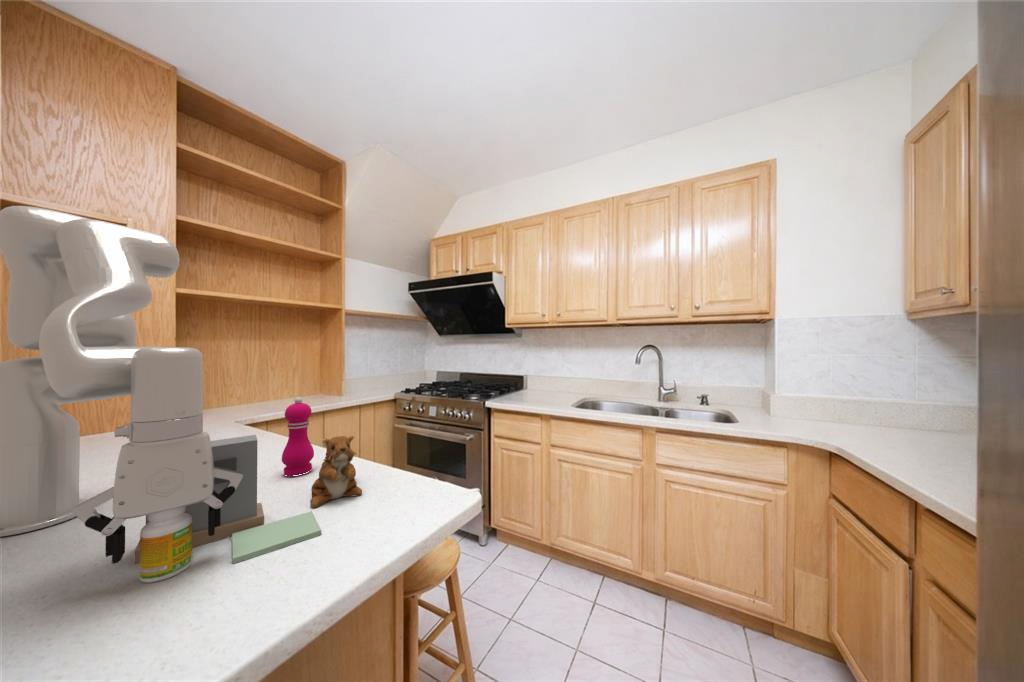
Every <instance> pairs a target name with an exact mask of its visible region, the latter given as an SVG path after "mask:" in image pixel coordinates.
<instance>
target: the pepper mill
mask: <svg viewBox="0 0 1024 682" xmlns="http://www.w3.org/2000/svg"><path fill="white" fill-rule="evenodd" d="M311 416H312V407H311V406H310V405H309V404H308V403H306V402H305V403H304V402H303V399H302V397H300V396H297V397H295V398H294V403H292V404H290V405H288V406H287V407H286V409H285V410H284V417H285V420H287V423H286V425H287V426H286V428H287V429H288V439H287V442H286V445H285V447H284V449H283V451H282V454H281V463H283V465H284V466H285V467H284V468H283V476H284V475H287V476H293V475H299V474H303V473H306V472H308V471H310V470H311V469H312V470H313V464H312V460H313V458H314V457H315V452H314V451H315V450H314V448H313V445H312V443H311V441H310V439H309V436H308V427H310V420H309V418H310V417H311Z"/></svg>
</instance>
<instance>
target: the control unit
mask: <svg viewBox="0 0 1024 682" xmlns="http://www.w3.org/2000/svg"><path fill="white" fill-rule="evenodd" d="M257 437H258V436H257V435H256V434H252V435H245V436H244V435H243V436H236V437H231V438H223V439H216V440H215V439H214V440H211V445H212V452H213V462H214V467H219V468H223V469H228V470H233V471H238V472H242V473H243V478H242V480H241V481H240V483H239V485H238V487H237V488H236V490H235V492H234V493H233V494H232V495H231V496H230V497H229V498H228V499H227V500H226V501H225V502H224V503H223V505H222V506H221V525H220V526H218V527H215V533H214V535H213V536H208V510H209V506H210V505H208V504H207V503H205V502H203V501H202V502H199V503H196V504H192V505H188V506H186V511H185V512H184V513H187V514H190V515H191V516H192V548H196V547H198V546H202V545H205V544H208V543H212V541H213V542H216V541H219V539H220V540H223V539H226V537H227V538H230V537H232V534H233V533H237V532H240V531H244V530H247V529H251V528H254V527H258V526H261V525H265V514H264V510H263V509H264V508H263V505H262V502H258V438H257ZM229 482H230V481H229V480H226V479H221V478H216V477H214V489H213V490H214V491H216V492H217V493H221V492H222V491H223V490H224V489H225V488H226V487H227V485H228V484H229ZM149 522H150V521H148V519H147V515H145V525H146V524H147V523H149ZM215 540H216V541H215ZM133 560H134V562H133V563H134V564H133V565H136V564H140V539H139V540H138V543H137V545H136V547H135V549H134V558H133Z"/></svg>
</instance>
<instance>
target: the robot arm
mask: <svg viewBox="0 0 1024 682" xmlns="http://www.w3.org/2000/svg"><path fill="white" fill-rule="evenodd" d="M0 253H1V255H2V258H3V260H4V261H5V263H6V265H7V269H8V271H9V291H8V292H9V293H8V302H7V314H6V336H7V339H8V341H9V342H10V344H11V345H13V346H14V347H16V348H19V349H24V350H28V351H29V350H31V351H39V353H40V356H32V357H20V358H12V359H9V360H8V359H7V360H3V361H1V362H0V538H1V537H8V536H13V535H18V534H24V533H29V532H32V531H36V530H40V529H44V528H47V527H51V526H54V525H58V524H60V523H63V522H65V521H69V520H72V519H74V518H78V519H79V520H80V521H81V522H83V524H84V527H86V528H89V529H90V530H94V531H96V532H99V533H100V534H101V536H103V537H105V557H106V558H108V557H110V556H111V564H112V565H114V564H117V563H119V562H121V561H122V559H123V556H124V555H125V553H126V526H124V523H125V522H126V521H127V520H130V519H135V518H140V517H146V515H149V514H154V513H158V512H162V511H167V510H171V509H175V508H180V507H184V506H188V505H192V504H196V503H199V502H202V501H203V502H205V503H207V504H208V505H210V506H209V510H208V536H213V535H214V533H215V527H218V526H220V525H221V506H222V505H223V503H224V502H225V501H226V500H227V499H228V498H229V497H230V496H231V495H232V494H233V493H234V492H235V490H236V488H237V487H238V485H239V483H240V481H241V480H242V478H243V473H242V472H238V471H233V470H228V469H223V468H219V467H214V462H213V452H212V445H211V441H212V440H211V438H210V435H209V432H207V431H203V430H204V428H203V427H204V416H203V415H204V414H203V412H204V408H203V407H204V361H203V360H204V359H203V358H204V357H203V353H202V352H201V351H200V350H199V349H197V348H194V347H185V346H184V347H183V346H181V347H180V346H178V347H177V346H176V347H173V346H171V347H170V346H136V342H137V326H136V321H135V319H134V317H133V316H132V314H133V313H135V312H138V311H141V310H143V309H144V308H146V307H147V306H148V305H150V303H151V302H152V300H153V292H152V289H151V287H150V285H149V282H148V279H147V277H152V278H158V279H159V278H161V279H164V278H169V277H171V276H173V275H174V274H175V273H176V272H177V271H178V269H179V266H180V254H179V251H178V248H177V247H176V246H175V244H174V243H173V241H171V239H169V238H168V237H166V236H164V235H161V234H159V233H156V232H151V231H146V230H142V229H139V228H135V227H130V226H126V225H122V224H118V223H113V222H108V221H103V220H99V219H92V218H89V217H84V216H79V215H75V214H71V213H67V212H63V211H58V210H54V209H53V210H52V209H49V208H44V207H37V206H29V205H11V206H7V207H4V208H3V209H1V210H0ZM123 396H130V422H128V423H127V424H126V425H122V426H119V427H118V426H117V427H115V428H114V433H113V434H114V438H119V437H122V438H125V437H126V439H128V442H127V443H125V444H123V445H122V446H121V448H120V450H119V454H118V458H117V462H116V468H115V474H114V475H115V476H114V484H113V486H111V487H110V488H108V489H106V490H104V491H102V492H100V493H98V494H96V495H94V496H93V497H91V498H89V499H85V498H80V467H81V466H80V461H81V458H80V457H81V456H80V455H81V454H80V452H81V451H80V450H81V426H80V423H79V421H78V420H77V418H75V416H73V415H71V414H70V413H68V412H66V411H65V410H64V409H62V408H61V407H60V406H61V405H67V404H72V403H73V404H74V403H83V402H91V401H93V402H95V401H102V400H109V399H110V400H111V399H115V398H119V397H123ZM214 477H216V478H221V479H226V480H229V481H230V482H229V484H228V485H227V487H226V488H225V489H224V490H223V491H222V492H221V493H217V492H216V491H214V490H213V489H214ZM111 499H112V514H113V516H112V518H111V517H109V516H106V515H104V514H102V513H99V512H98V511H97V509H96V508H97V507H99V506H101V505H103V504H105V503H106V502H108V501H110V500H111Z"/></svg>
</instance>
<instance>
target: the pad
mask: <svg viewBox="0 0 1024 682" xmlns="http://www.w3.org/2000/svg"><path fill="white" fill-rule="evenodd" d="M321 535H322V529H321V527H320V524H319V523H318V520H317V519H316V517H315V514H314V513H313V511H312V510H311V511H307V512H304V513H303V512H302V513H301V514H300V513H299V514H296V515H293V516H290V517H289V516H288V517H286V518H283V519H279V520H276V521H272V522H269V523H264V525H261V526H258V527H254V528H251V529H247V530H244V531H240V532H237V533H233V534H232V536H231V537H232V538H231V541H232V542H231V543H232V546H231V547H232V564H233V565H234V564H237V563H239V562H244V561H246V560H249V559H252V558H255V557H259V556H261V555H265V554H266V553H270V552H274V551H276V550H278V549H282V548H286V547H288V546H292V545H295V544H297V543H300V542H303V541H306V540H310V539H311V538H315V537H318V536H321Z"/></svg>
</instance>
